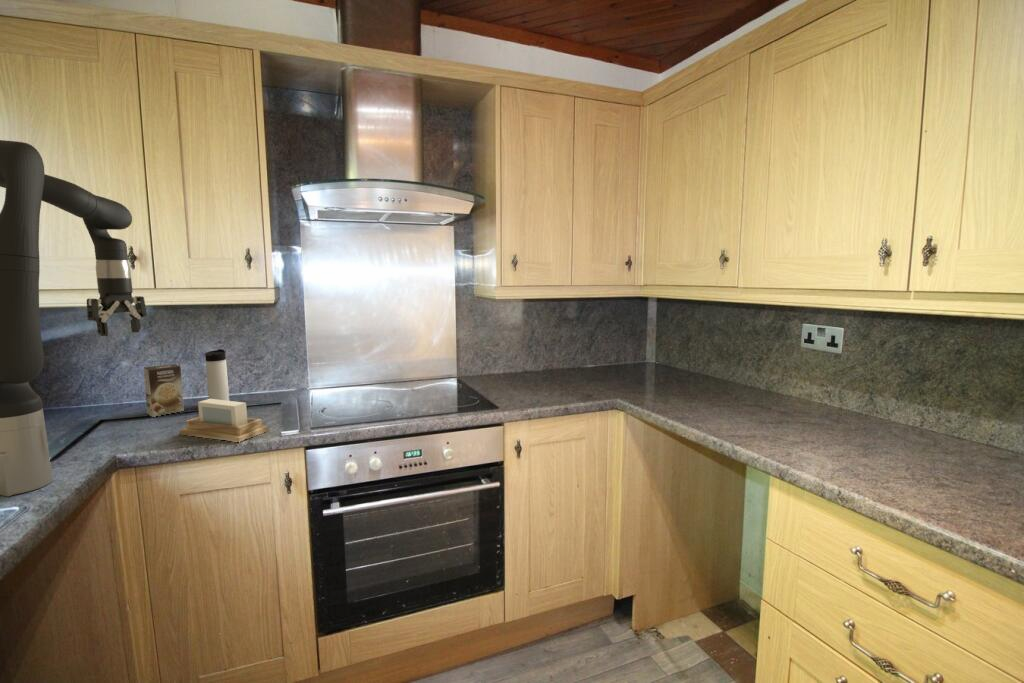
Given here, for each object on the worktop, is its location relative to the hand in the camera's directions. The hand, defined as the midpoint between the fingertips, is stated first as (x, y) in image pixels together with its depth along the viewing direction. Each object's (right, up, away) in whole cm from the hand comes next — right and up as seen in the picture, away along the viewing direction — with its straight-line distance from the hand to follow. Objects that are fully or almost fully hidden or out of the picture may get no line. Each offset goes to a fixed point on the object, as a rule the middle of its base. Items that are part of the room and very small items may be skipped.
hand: (120, 333), depth 139 cm
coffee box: (-6, -27, +27) cm, 38 cm away
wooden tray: (+26, -30, +7) cm, 40 cm away
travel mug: (+7, -25, +36) cm, 45 cm away
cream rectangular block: (+26, -28, +7) cm, 39 cm away
